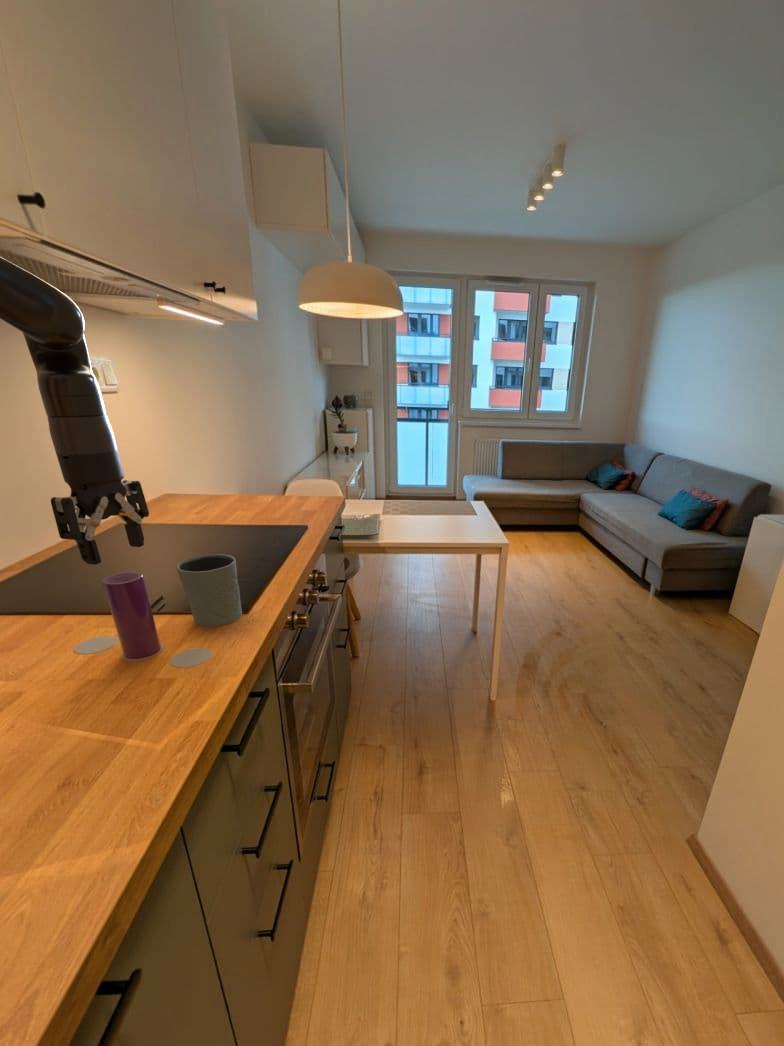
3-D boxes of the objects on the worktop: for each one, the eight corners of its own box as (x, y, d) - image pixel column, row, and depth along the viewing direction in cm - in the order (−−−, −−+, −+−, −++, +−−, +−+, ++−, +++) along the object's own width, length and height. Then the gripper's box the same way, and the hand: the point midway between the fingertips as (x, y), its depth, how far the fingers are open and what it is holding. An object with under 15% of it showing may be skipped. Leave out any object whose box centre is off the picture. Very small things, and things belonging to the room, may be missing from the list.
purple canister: (101, 608, 81) (93, 582, 80) (128, 595, 86) (121, 570, 85) (131, 612, 80) (123, 585, 79) (156, 598, 85) (150, 573, 84)
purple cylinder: (108, 633, 83) (101, 608, 81) (134, 618, 88) (128, 595, 86) (137, 637, 82) (131, 612, 80) (162, 622, 87) (156, 598, 85)
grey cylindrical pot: (244, 626, 97) (234, 568, 92) (186, 634, 94) (172, 574, 89) (245, 606, 106) (236, 551, 101) (192, 612, 102) (179, 556, 98)
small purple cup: (115, 657, 85) (108, 633, 83) (141, 641, 90) (134, 618, 88) (144, 661, 84) (137, 637, 82) (168, 645, 89) (162, 622, 87)
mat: (49, 662, 84) (48, 659, 84) (108, 630, 95) (107, 627, 95) (185, 682, 79) (185, 678, 79) (231, 645, 90) (231, 642, 90)
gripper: (105, 441, 80) (131, 539, 87) (17, 454, 68) (55, 568, 74) (146, 443, 79) (169, 542, 86) (64, 456, 66) (98, 572, 73)
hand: (116, 554), depth 80 cm, fingers open, 8 cm apart
